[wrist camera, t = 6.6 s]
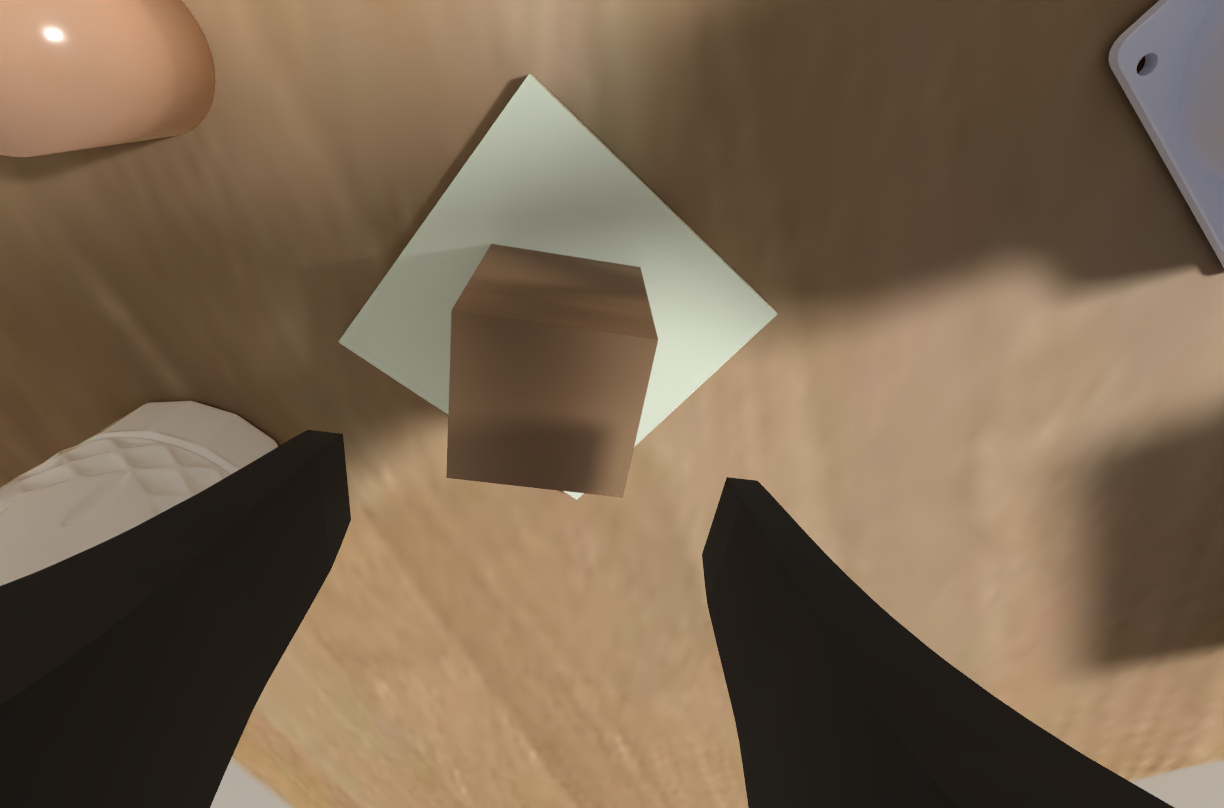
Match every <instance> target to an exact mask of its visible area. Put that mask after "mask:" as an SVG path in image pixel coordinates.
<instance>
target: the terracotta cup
mask: <svg viewBox="0 0 1224 808" xmlns="http://www.w3.org/2000/svg"><path fill="white" fill-rule="evenodd" d="M214 93H215V69H214V64H213V58H212V55H211V52H210V48H209V46H208V43H207V41H206V38H205V36H204V34H203V32H202V30H201V28H200V26H199V24H198V23H197V21H196V19H195V18H194V16H193V15H192V13H191V12H190V11H189V9H188V8H187V7H186V5H185V4H184V3H183V2H182V0H0V155H4V156H11V157H32V156H39V155H46V154H53V153H60V152H67V151H74V150H81V149H88V148H95V147H102V146H109V145H116V144H122V143H129V142H136V141H143V140H150V139H157V138H164V137H171V136H177V135H180V134H183V133H186V132H188V131H190V130H192V129H193V128H194V127H196V126H197V125H198V124H199V123H200V122H201V121H202V120H203V119H204V118H205V116H206V115H207V113H208V111H209V109H210V107H211V104H212V102H213V97H214Z"/></svg>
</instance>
